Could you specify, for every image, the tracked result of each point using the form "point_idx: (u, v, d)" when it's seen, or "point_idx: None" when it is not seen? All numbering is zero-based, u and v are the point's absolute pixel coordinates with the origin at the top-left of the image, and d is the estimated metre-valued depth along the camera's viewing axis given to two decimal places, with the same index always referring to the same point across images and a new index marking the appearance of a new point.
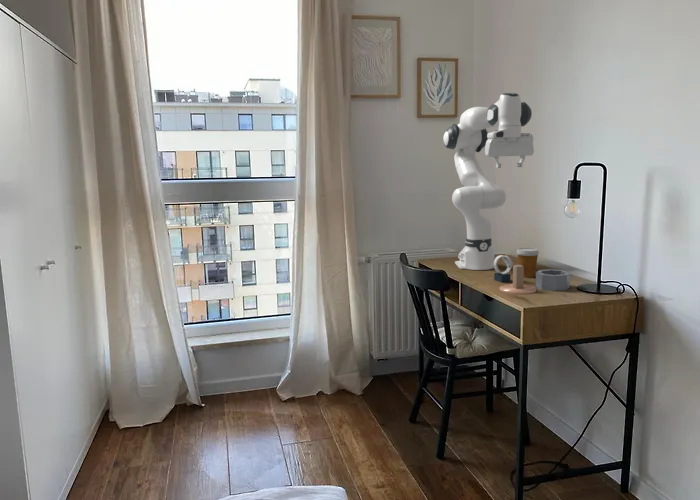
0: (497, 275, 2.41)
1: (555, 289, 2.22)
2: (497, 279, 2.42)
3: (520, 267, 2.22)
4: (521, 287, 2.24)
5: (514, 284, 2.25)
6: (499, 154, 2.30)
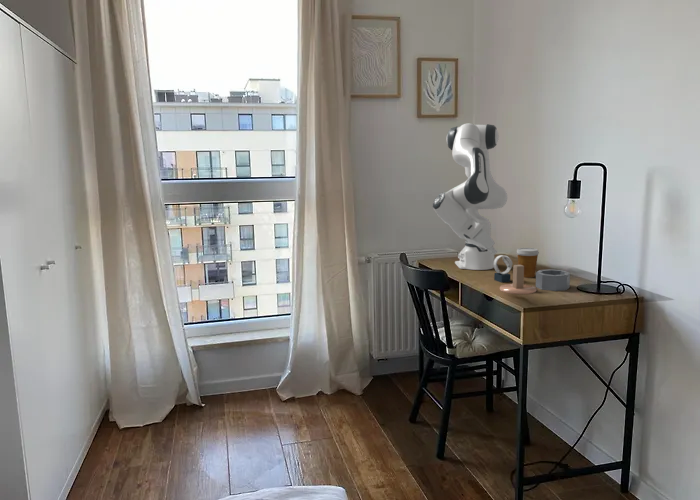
0: (497, 275, 2.41)
1: (555, 289, 2.22)
2: (497, 279, 2.42)
3: (520, 267, 2.22)
4: (521, 287, 2.24)
5: (514, 284, 2.25)
6: None
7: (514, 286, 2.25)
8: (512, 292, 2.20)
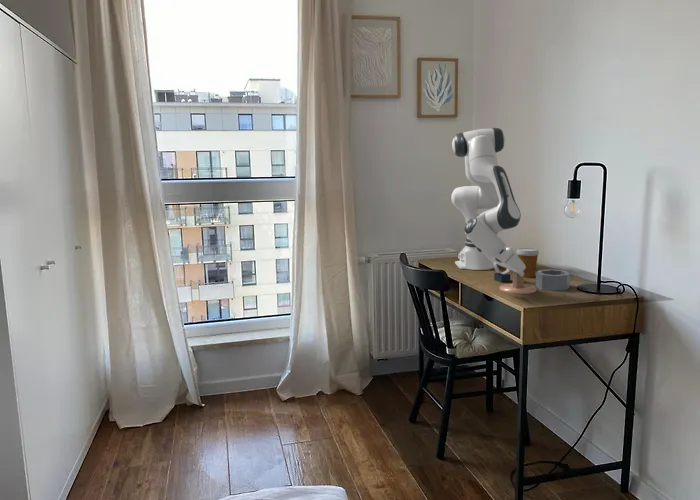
0: (497, 275, 2.41)
1: (555, 289, 2.22)
2: (497, 279, 2.42)
3: None
4: (521, 286, 2.24)
5: (514, 284, 2.25)
6: None
7: (514, 286, 2.25)
8: (513, 292, 2.19)
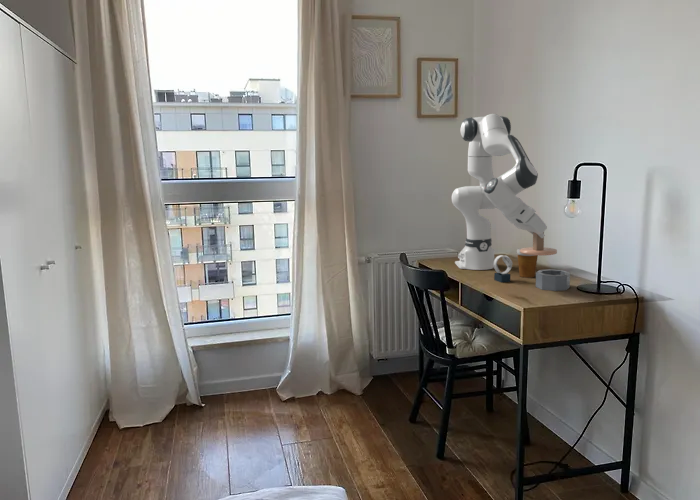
0: (497, 275, 2.41)
1: (555, 289, 2.22)
2: (497, 279, 2.42)
3: None
4: (541, 249, 2.22)
5: (534, 246, 2.23)
6: None
7: (534, 248, 2.23)
8: (532, 253, 2.18)
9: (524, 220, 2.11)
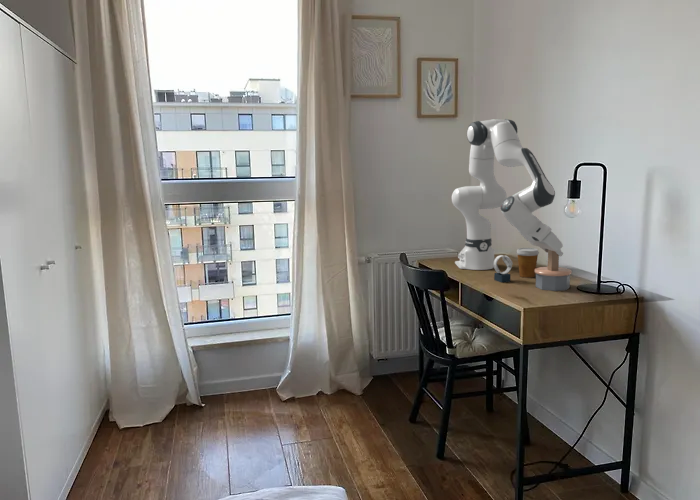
0: (497, 275, 2.41)
1: (555, 289, 2.22)
2: (497, 279, 2.42)
3: None
4: (556, 269, 2.26)
5: (549, 266, 2.27)
6: None
7: (549, 268, 2.27)
8: (548, 274, 2.21)
9: (540, 238, 2.14)
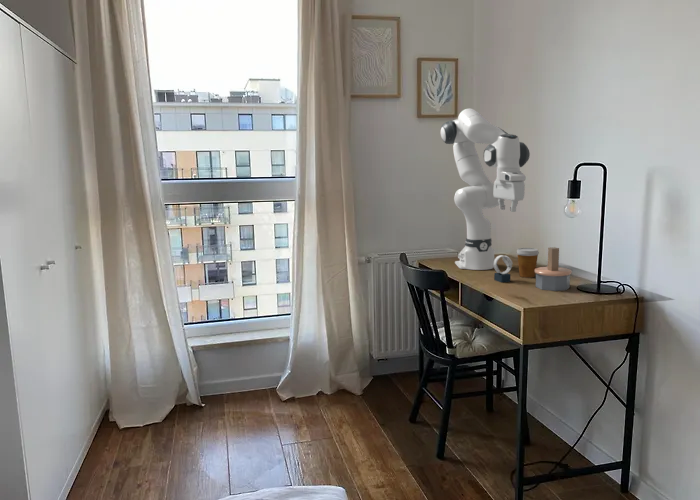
0: (497, 275, 2.41)
1: (555, 289, 2.22)
2: (497, 279, 2.42)
3: (555, 249, 2.24)
4: (556, 269, 2.26)
5: (549, 266, 2.27)
6: None
7: (549, 268, 2.27)
8: (548, 274, 2.21)
9: (512, 178, 2.16)
